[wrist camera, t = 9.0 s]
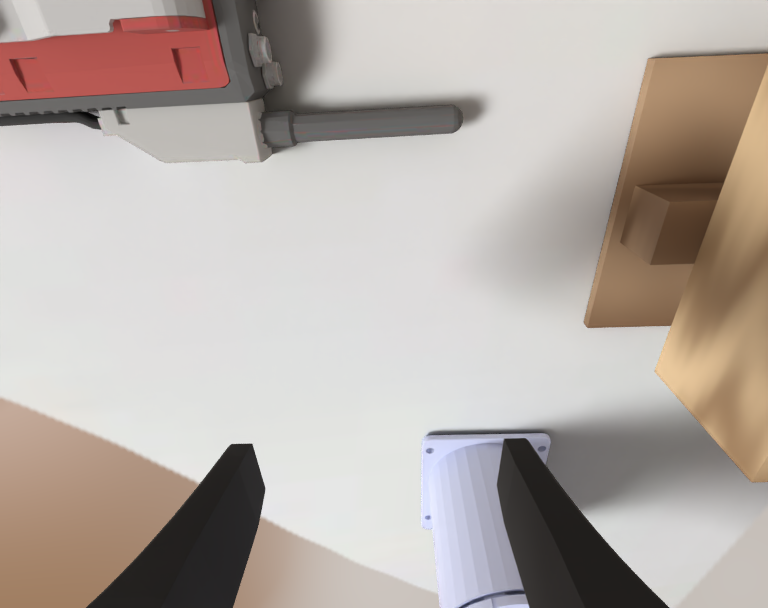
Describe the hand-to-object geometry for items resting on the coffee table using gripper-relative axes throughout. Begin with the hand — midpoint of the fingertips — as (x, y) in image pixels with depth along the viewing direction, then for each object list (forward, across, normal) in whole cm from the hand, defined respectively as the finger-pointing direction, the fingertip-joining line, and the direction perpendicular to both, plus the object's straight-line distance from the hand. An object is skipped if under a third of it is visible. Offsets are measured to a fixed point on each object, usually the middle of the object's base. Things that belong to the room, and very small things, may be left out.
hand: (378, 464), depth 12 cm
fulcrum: (+10, -15, -4) cm, 18 cm away
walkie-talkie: (+11, +7, -11) cm, 17 cm away
